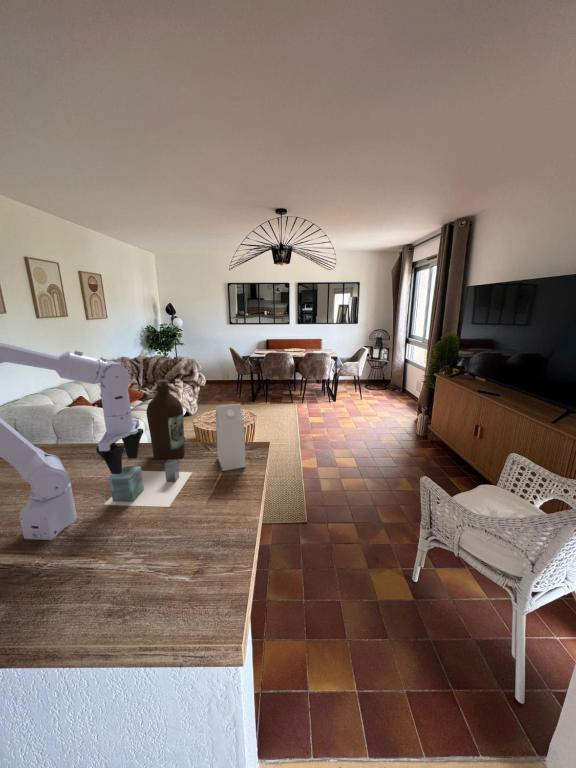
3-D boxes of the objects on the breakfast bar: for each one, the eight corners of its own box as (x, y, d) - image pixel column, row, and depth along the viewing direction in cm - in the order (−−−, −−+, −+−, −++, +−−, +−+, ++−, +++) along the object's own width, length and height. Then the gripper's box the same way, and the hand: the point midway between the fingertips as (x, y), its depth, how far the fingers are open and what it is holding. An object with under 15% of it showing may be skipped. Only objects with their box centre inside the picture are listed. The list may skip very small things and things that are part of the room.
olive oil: (144, 461, 101) (134, 383, 95) (167, 447, 111) (159, 375, 105) (172, 466, 98) (164, 386, 92) (193, 451, 108) (187, 378, 101)
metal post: (175, 482, 87) (173, 464, 86) (166, 482, 88) (164, 464, 86) (179, 477, 90) (177, 459, 89) (170, 477, 90) (168, 459, 89)
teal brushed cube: (133, 502, 79) (130, 477, 77) (112, 501, 79) (109, 476, 77) (144, 489, 84) (141, 466, 82) (124, 489, 84) (121, 466, 82)
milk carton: (217, 461, 101) (214, 402, 97) (240, 457, 104) (238, 400, 99) (221, 471, 95) (218, 410, 90) (245, 467, 97) (243, 407, 93)
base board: (169, 511, 77) (169, 506, 77) (104, 508, 78) (103, 504, 78) (192, 476, 93) (192, 472, 92) (138, 474, 94) (137, 470, 93)
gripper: (117, 424, 69) (125, 481, 73) (148, 403, 83) (153, 451, 87) (85, 423, 69) (94, 480, 73) (121, 403, 83) (127, 451, 87)
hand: (124, 465), depth 80 cm, fingers open, 7 cm apart
